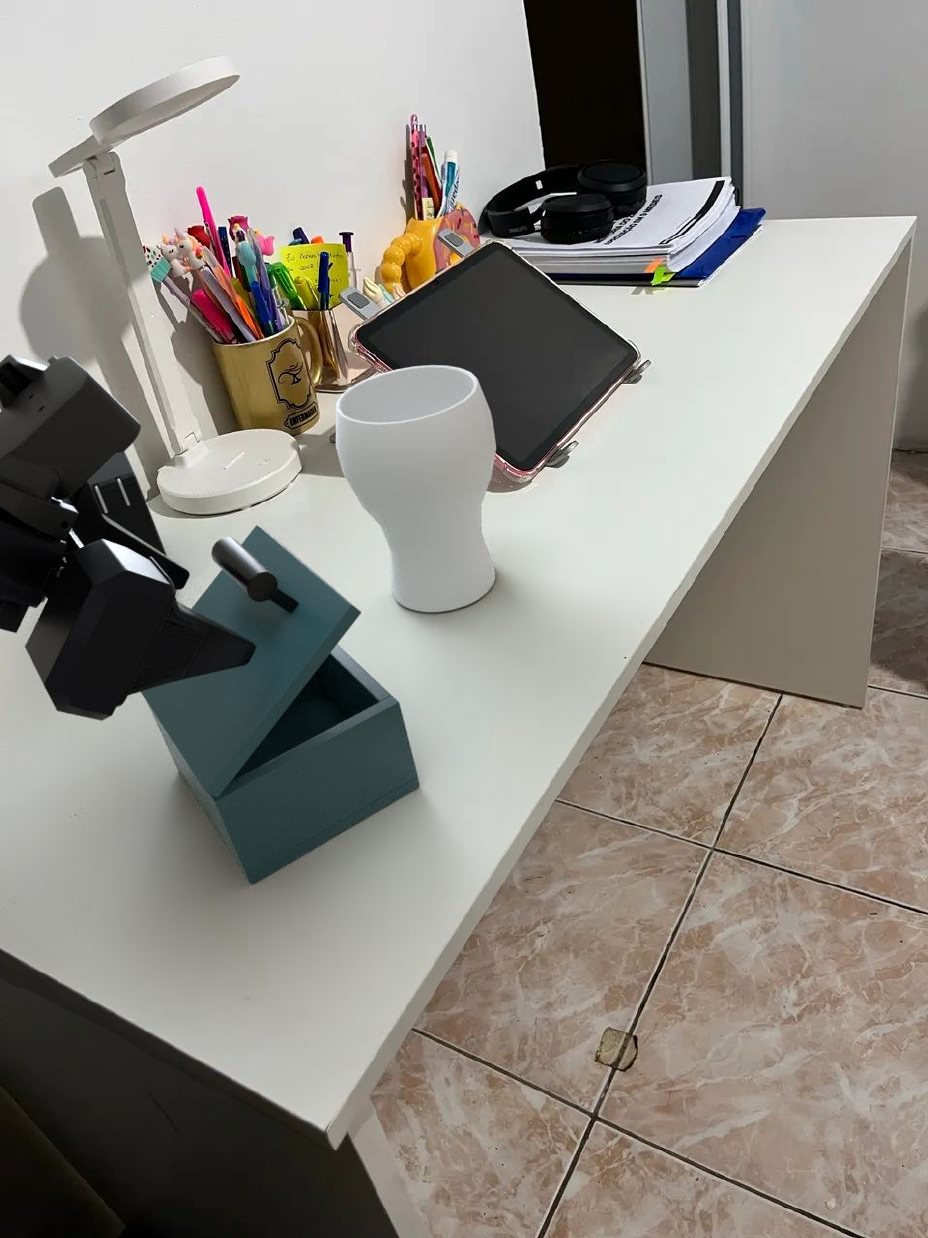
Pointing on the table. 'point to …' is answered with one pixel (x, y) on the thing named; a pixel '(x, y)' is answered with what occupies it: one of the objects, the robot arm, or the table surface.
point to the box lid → (279, 669)
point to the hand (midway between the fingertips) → (216, 614)
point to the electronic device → (124, 499)
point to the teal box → (311, 770)
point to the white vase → (423, 478)
